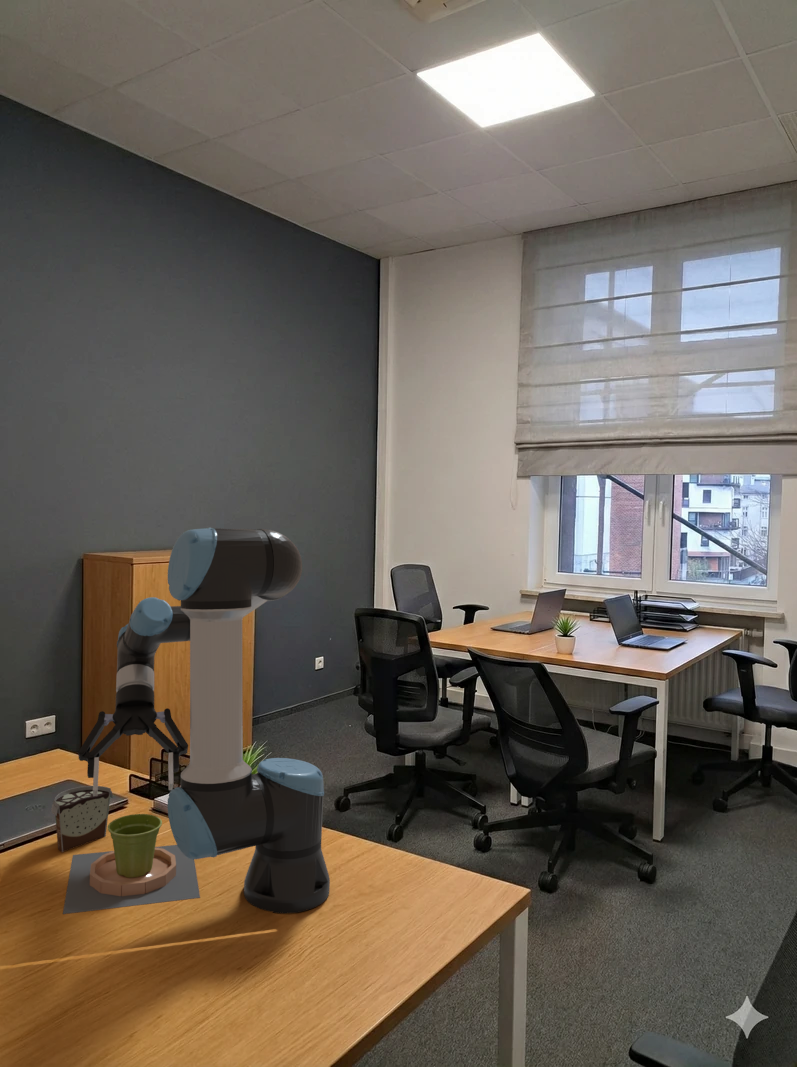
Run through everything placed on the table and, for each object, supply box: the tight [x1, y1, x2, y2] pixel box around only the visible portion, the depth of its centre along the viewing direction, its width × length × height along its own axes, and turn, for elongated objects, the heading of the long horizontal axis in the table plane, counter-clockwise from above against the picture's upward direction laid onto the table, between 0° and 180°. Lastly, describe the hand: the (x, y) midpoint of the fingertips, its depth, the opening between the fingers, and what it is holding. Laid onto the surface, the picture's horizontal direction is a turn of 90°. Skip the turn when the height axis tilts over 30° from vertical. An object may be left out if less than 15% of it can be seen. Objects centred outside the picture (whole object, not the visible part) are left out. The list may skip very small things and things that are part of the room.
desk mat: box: [62, 844, 201, 915], centre depth 143 cm, size 22×22×1 cm
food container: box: [50, 785, 114, 853], centre depth 157 cm, size 12×6×10 cm, turn 144°
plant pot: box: [107, 813, 163, 878], centre depth 143 cm, size 9×9×9 cm
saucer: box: [90, 846, 176, 896], centre depth 143 cm, size 15×15×2 cm
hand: (133, 790), depth 148 cm, fingers open, 13 cm apart
